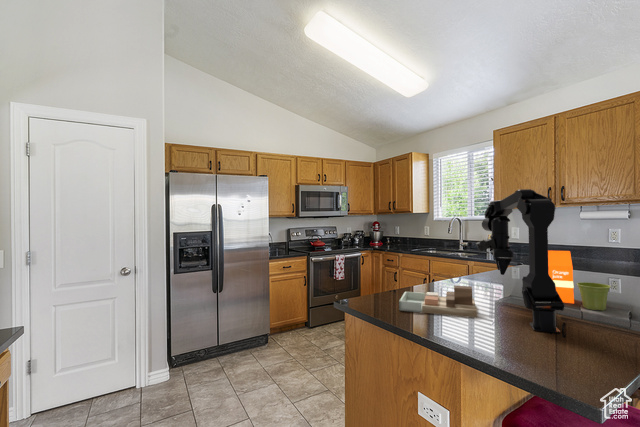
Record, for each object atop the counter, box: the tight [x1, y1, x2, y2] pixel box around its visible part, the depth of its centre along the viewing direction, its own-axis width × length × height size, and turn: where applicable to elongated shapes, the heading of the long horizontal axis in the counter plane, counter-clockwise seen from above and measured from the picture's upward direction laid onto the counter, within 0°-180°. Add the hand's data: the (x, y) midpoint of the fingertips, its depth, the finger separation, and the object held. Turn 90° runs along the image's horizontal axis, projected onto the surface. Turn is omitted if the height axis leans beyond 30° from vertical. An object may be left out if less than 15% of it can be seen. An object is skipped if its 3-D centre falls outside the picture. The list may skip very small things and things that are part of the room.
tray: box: [398, 291, 426, 313], centre depth 121 cm, size 16×8×4 cm, turn 157°
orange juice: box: [548, 250, 575, 304], centre depth 124 cm, size 8×9×20 cm
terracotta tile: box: [425, 295, 438, 305], centre depth 115 cm, size 4×4×2 cm
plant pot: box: [576, 282, 612, 312], centre depth 112 cm, size 9×9×9 cm
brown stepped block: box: [445, 285, 473, 307], centre depth 114 cm, size 13×9×6 cm
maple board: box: [421, 295, 478, 318], centre depth 116 cm, size 16×18×2 cm
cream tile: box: [425, 291, 440, 300], centre depth 121 cm, size 4×4×2 cm
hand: (500, 272), depth 120 cm, fingers open, 9 cm apart
